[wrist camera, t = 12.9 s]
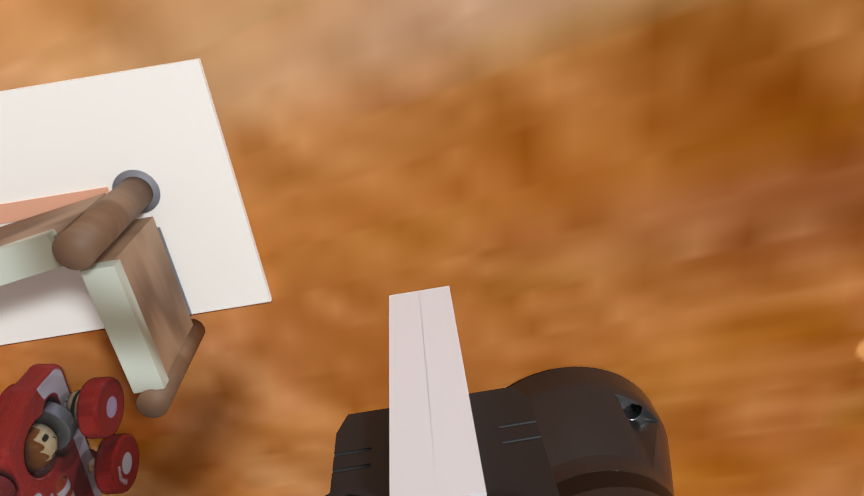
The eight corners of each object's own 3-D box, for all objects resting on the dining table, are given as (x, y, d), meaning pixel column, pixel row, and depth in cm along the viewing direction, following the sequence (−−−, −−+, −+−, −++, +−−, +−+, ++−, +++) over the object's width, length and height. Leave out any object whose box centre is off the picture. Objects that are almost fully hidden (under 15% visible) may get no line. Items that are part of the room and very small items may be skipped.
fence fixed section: (209, 338, 44) (169, 426, 36) (181, 342, 44) (134, 431, 36) (149, 171, 39) (85, 230, 30) (117, 176, 39) (44, 237, 30)
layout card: (271, 298, 43) (270, 302, 42) (-3, 342, 43) (-7, 347, 42) (199, 58, 36) (197, 59, 35) (-127, 112, 36) (-134, 114, 36)
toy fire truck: (111, 343, 44) (35, 451, 34) (149, 477, 49) (92, 602, 40) (7, 349, 43) (-98, 459, 34) (57, 483, 49) (-22, 611, 39)
